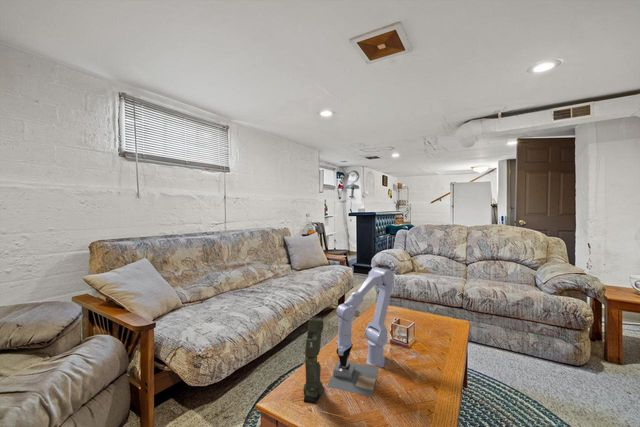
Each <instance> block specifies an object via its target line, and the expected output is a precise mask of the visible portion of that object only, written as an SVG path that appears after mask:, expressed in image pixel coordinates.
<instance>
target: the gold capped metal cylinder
mask: <svg viewBox="0 0 640 427" xmlns="http://www.w3.org/2000/svg"><path fill="white" fill-rule="evenodd" d="M349 358H350V355H348V358H347V364H346V367H343V366H341V369H345V370H348V366H349V362H350V361H349Z"/></svg>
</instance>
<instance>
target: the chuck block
mask: <svg viewBox="0 0 640 427" xmlns="http://www.w3.org/2000/svg"><path fill="white" fill-rule="evenodd" d="M355 364H356V362H353V361H349V366H348V370H345V369H341V364H340V359H338V360H337V361H336V363H335V365H334V367H333V369H332V375H333V377H338V378H342V379H347V380H352V378H353V375H354V372H355Z"/></svg>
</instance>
